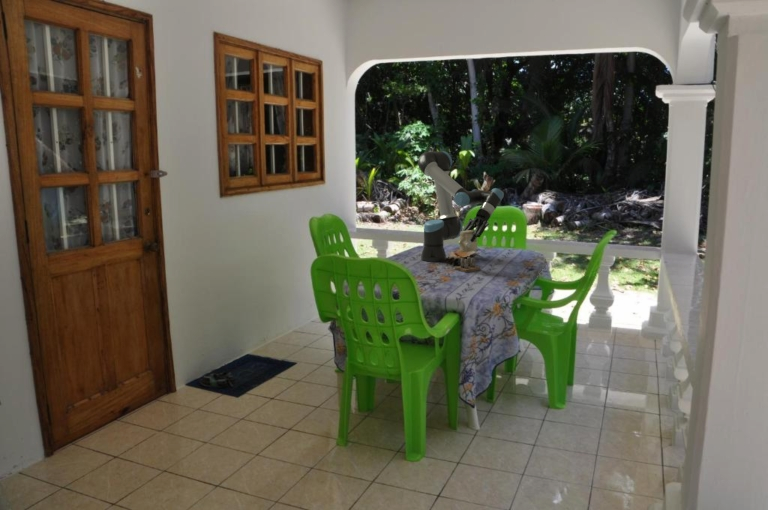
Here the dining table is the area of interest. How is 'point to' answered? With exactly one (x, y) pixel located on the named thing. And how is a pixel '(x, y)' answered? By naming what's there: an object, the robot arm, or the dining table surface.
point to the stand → (467, 265)
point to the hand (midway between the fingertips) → (463, 244)
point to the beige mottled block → (463, 240)
